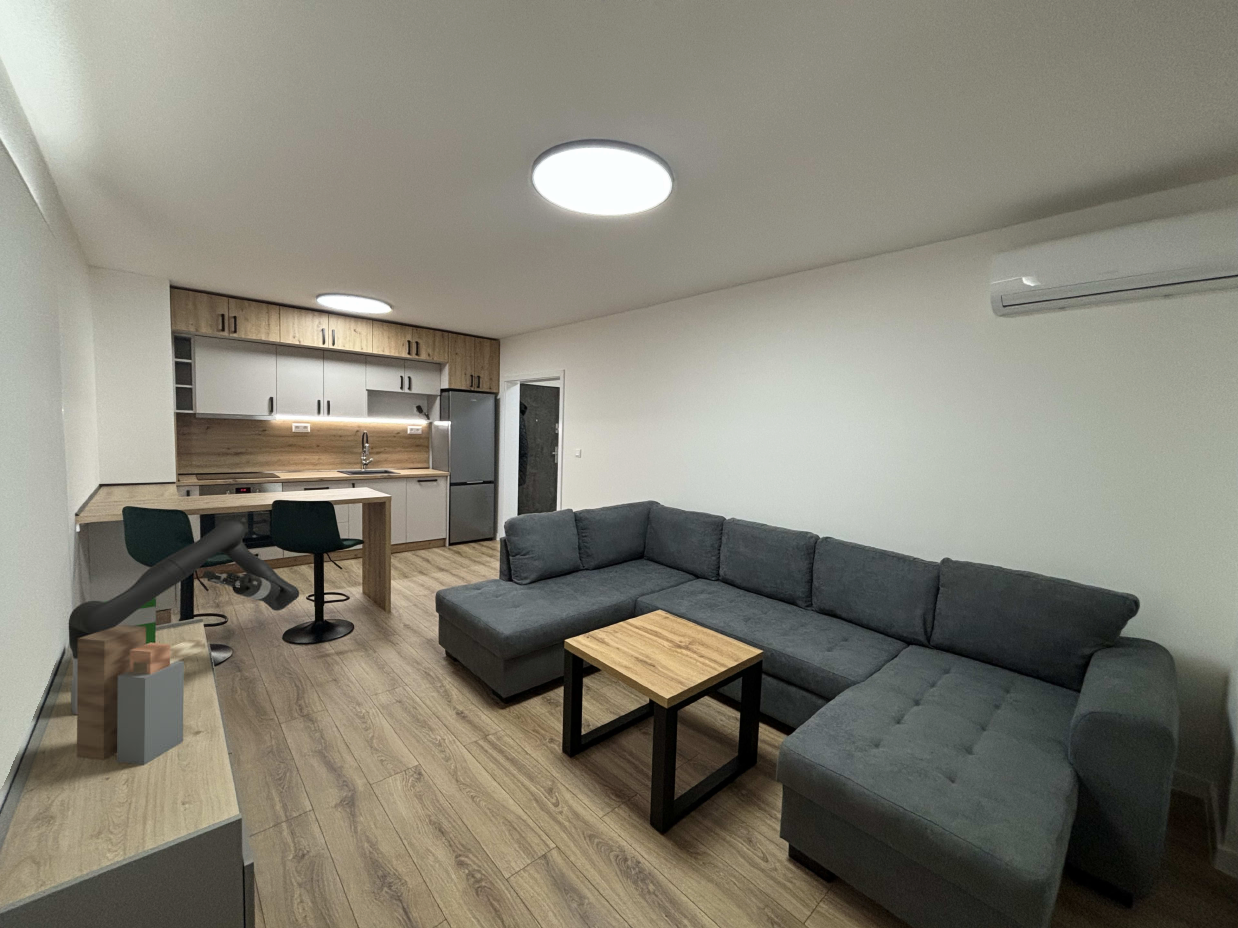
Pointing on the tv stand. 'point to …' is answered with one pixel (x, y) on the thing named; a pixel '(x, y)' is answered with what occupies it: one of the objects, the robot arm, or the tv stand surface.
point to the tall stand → (102, 687)
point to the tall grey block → (149, 713)
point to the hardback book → (144, 620)
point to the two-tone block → (162, 655)
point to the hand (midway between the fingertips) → (216, 574)
